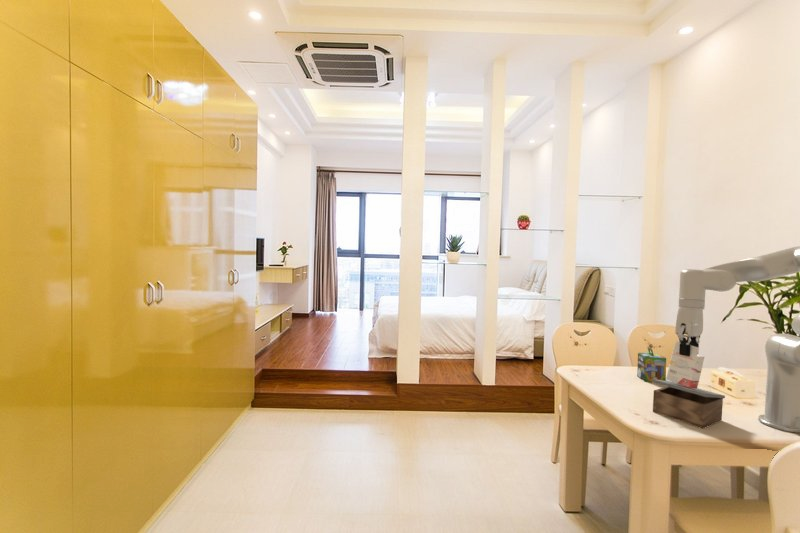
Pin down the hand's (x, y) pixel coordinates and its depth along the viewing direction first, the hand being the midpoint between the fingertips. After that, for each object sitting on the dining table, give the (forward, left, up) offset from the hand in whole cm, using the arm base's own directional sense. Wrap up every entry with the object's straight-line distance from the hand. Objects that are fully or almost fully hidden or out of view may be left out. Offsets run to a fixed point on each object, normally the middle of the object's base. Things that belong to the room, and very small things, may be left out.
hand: (688, 353), depth 145 cm
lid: (0, 0, -13) cm, 13 cm away
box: (0, -1, -23) cm, 23 cm away
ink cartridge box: (+1, +1, -11) cm, 11 cm away
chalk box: (+30, -35, -23) cm, 51 cm away
